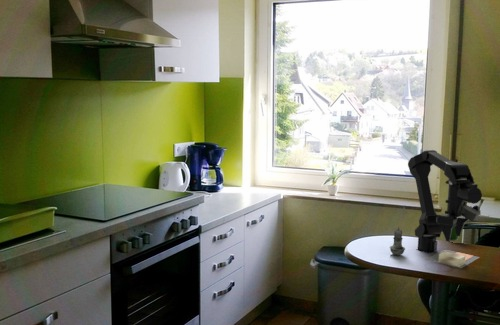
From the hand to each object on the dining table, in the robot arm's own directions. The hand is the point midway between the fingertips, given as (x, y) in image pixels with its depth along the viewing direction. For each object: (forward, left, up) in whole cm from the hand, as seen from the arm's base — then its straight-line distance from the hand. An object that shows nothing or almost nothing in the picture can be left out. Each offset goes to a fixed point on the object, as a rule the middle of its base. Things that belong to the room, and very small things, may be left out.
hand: (453, 238), depth 195 cm
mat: (-2, +5, -10) cm, 12 cm away
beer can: (-14, +32, -10) cm, 37 cm away
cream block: (0, 0, -9) cm, 9 cm away
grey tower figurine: (-19, -7, -10) cm, 23 cm away
